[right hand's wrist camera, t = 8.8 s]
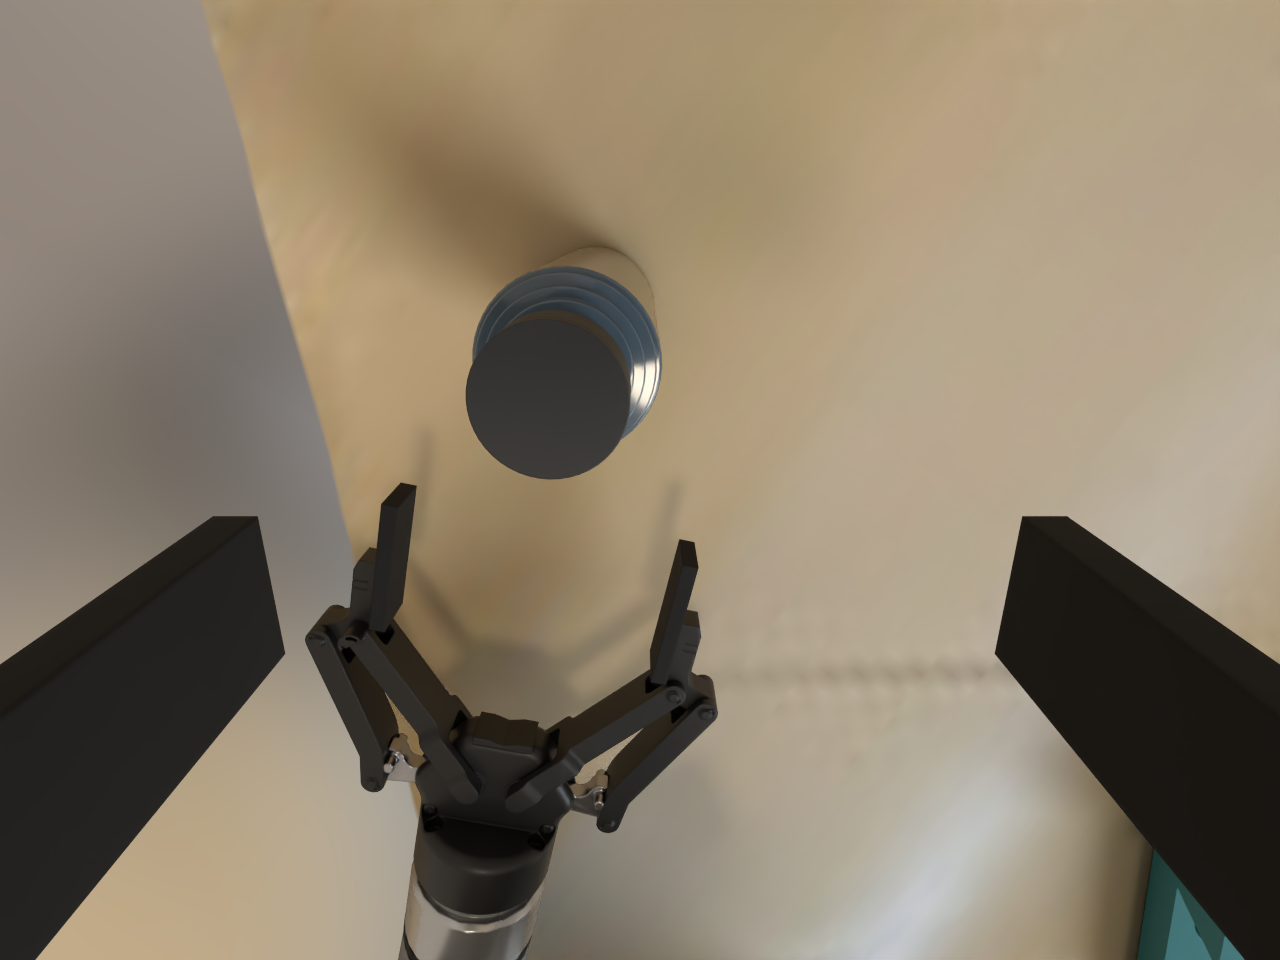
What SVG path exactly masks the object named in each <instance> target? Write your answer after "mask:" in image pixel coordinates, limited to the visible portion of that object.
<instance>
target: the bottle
mask: <svg viewBox="0 0 1280 960" xmlns="http://www.w3.org/2000/svg"><path fill="white" fill-rule="evenodd" d="M543 310H562V311H568V312H573V313H576V314H579V315H582V316H584V317H586V318H588V319H590V320H592V321H594V322H595V323H597V324H598V325H600V326H601V327H602V328H603V329H605V330H606V331H607V332H608V333H609V334H610V335H611V336H612V338H613V339H614V340H615V341H616V342H617V344H618V346H619V347H620V349H621V350H622V352H623V354H624V357H625V359H626V361H627V365H628V368H629V372H630V378H631V398H630V411H629V418H628V422H627V426H626V428H625V431H624V434H623V436H622V438H621V439H623V438H624V437H625V436H627V435H628V434H629V433H630V432H632V431H633V430H634V429H635V428H636V427H637V426H638V425H639V424H640V423H641V421H642V420H643V419H644V417H645V416H646V414H647V413H648V411H649V410H650V408H651V406H652V404H653V402H654V400H655V397H656V395H657V392H658V388H659V384H660V380H661V372H662V354H661V347H660V340H659V333H658V326H657V319H656V312H655V305H654V299H653V293H652V290H651V287H650V284H649V282H648V280H647V278H646V276H645V275H644V273H643V272H642V270H641V269H640V268H639V267H638V266H637V265H636V264H635V263H634V262H633V261H632V260H631V259H629V258H628V257H627V256H625V255H623V254H621V253H619V252H617V251H614V250H612V249H608V248H602V247H587V248H581V249H578V250H575V251H572V252H570V253H568V254H566V255H564V256H562V257H560V258H558V259H556V260H554V261H552V262H550V263H547V264H545V265H543V266H541V267H539V268H537V269H535V270H533V271H531V272H529V273H527V274H525V275H523V276H520V277H518V278H517V279H515V280H514V281H512V282H511V283H509V284H508V285H506V286H505V287H504V288H503V289H502V290H501V291H500V292H499V293H498V294H497V295H496V296H495V297H494V298H493V300H492V301H491V302H490V303H489V305H488V306H487V308H486V310H485V311H484V313H483V315H482V317H481V319H480V321H479V324H478V326H477V330H476V333H475V337H474V343H473V360H472V362H474V360H475V358H476V356H477V355H478V353H479V352H480V350H481V349H482V348H483V347H484V345H485V344H486V343H487V342H488V341H489V340H490V339H491V338H493V337H494V336H495V335H496V334H497V333H499V332H500V331H501V330H502V329H504V328H505V327H506V326H507V325H509V324H510V323H512V322H513V321H515V320H516V319H518V318H520V317H522V316H524V315H527V314H530V313H533V312H538V311H543Z"/></svg>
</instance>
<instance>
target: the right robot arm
mask: <svg viewBox="0 0 1280 960" xmlns="http://www.w3.org/2000/svg"><path fill="white" fill-rule="evenodd" d="M284 655H285V650H284V645H283V640H282V636H281V630H280V625H279V620H278V615H277V610H276V605H275V600H274V595H273V590H272V585H271V580H270V576H269V570H268V565H267V560H266V555H265V550H264V546H263V541H262V536H261V531H260V526H259V521H258V517H257V516H213V517H211V518H210V519H209V520H207V521H206V522H204V523H203V524H201V525H200V526H199V527H197V528H196V529H194V530H193V531H191V532H190V533H189V534H187V535H186V536H184V537H183V538H181V539H180V540H178V541H177V542H176V543H174V544H173V545H171V546H170V547H168V548H167V549H165V550H164V551H163V552H161V553H160V554H158V555H157V556H155V557H154V558H153V559H151V560H150V561H148V562H147V563H145V564H144V565H143V566H141V567H140V568H138V569H137V570H135V571H134V572H132V573H131V574H130V575H128V576H127V577H125V578H124V579H122V580H121V581H120V582H118V583H117V584H115V585H114V586H112V587H111V588H109V589H108V590H107V591H105V592H104V593H102V594H101V595H99V596H98V597H96V598H95V599H94V600H92V601H91V602H89V603H88V604H86V605H85V606H84V607H82V608H81V609H79V610H78V611H76V612H75V613H73V614H72V615H71V616H69V617H68V618H66V619H65V620H64V621H62V622H61V623H59V624H58V625H56V626H55V627H53V628H52V629H51V630H49V631H48V632H46V633H45V634H43V635H42V636H40V637H39V638H38V639H36V640H35V641H33V642H32V643H30V644H29V645H28V646H26V647H25V648H23V649H22V650H20V651H19V652H18V653H16V654H15V655H13V656H12V657H10V658H9V659H7V660H6V661H5V662H3V663H2V664H0V960H36V958H37V957H38V956H39V955H40V953H41V952H42V951H43V950H44V948H45V947H46V946H47V945H48V944H49V942H50V941H51V940H52V939H53V937H54V936H55V935H56V934H57V933H58V931H59V930H60V929H61V928H62V926H63V925H64V924H65V923H66V921H67V920H68V919H69V918H70V917H71V915H72V914H73V913H74V912H75V910H76V909H77V908H78V907H79V906H80V904H81V903H82V902H83V901H84V899H85V898H86V897H87V896H88V895H89V893H90V892H91V891H92V890H93V888H94V887H95V886H96V885H97V884H98V882H99V881H100V880H101V879H102V877H103V876H104V875H105V874H106V873H107V871H108V870H109V869H110V868H111V866H112V865H113V864H114V863H115V862H116V860H117V859H118V858H119V857H120V855H121V854H122V853H123V852H124V851H125V849H126V848H127V847H128V846H129V844H130V843H131V842H132V841H133V839H134V838H135V837H136V836H137V835H138V833H139V832H140V831H141V830H142V828H143V827H144V826H145V825H146V824H147V822H148V821H149V820H150V819H151V817H152V816H153V815H154V814H155V813H156V811H157V810H158V809H159V808H160V806H161V805H162V804H163V803H164V801H165V800H166V799H167V798H168V797H169V795H170V794H171V793H172V792H173V790H174V789H175V788H176V787H177V786H178V784H179V783H180V782H181V781H182V779H183V778H184V777H185V776H186V775H187V773H188V772H189V771H190V770H191V768H192V767H193V766H194V765H195V764H196V762H197V761H198V760H199V759H200V757H201V756H202V755H203V754H204V752H205V751H206V750H207V749H208V748H209V746H210V745H211V744H212V743H213V741H214V740H215V739H216V738H217V737H218V735H219V734H220V733H221V732H222V730H223V729H224V728H225V727H226V726H227V724H228V723H229V722H230V721H231V719H232V718H233V717H234V716H235V715H236V713H237V712H238V711H239V710H240V708H241V707H242V706H243V705H244V704H245V702H246V701H247V700H248V699H249V697H250V696H251V695H252V694H253V693H254V691H255V690H256V689H257V688H258V686H259V685H260V684H261V683H262V681H263V680H264V679H265V678H266V677H267V675H268V674H269V673H270V672H271V670H272V669H273V668H274V667H275V665H276V664H277V663H278V662H279V661H280V659H281V658H282V657H283V656H284ZM995 655H996V656H997V657H998V658H999V659H1000V661H1001V662H1002V663H1003V664H1004V666H1005V667H1006V668H1007V669H1008V671H1009V672H1010V673H1011V674H1012V675H1013V677H1014V678H1015V679H1016V680H1017V682H1018V683H1019V684H1020V685H1021V686H1022V688H1023V689H1024V690H1025V691H1026V693H1027V694H1028V695H1029V696H1030V697H1031V699H1032V700H1033V701H1034V702H1035V704H1036V705H1037V706H1038V707H1039V708H1040V710H1041V711H1042V712H1043V713H1044V715H1045V716H1046V717H1047V718H1048V719H1049V721H1050V722H1051V723H1052V724H1053V726H1054V727H1055V728H1056V729H1057V731H1058V732H1059V733H1060V734H1061V735H1062V737H1063V738H1064V739H1065V740H1066V742H1067V743H1068V744H1069V745H1070V746H1071V748H1072V749H1073V750H1074V751H1075V753H1076V754H1077V755H1078V756H1079V757H1080V759H1081V760H1082V761H1083V762H1084V764H1085V765H1086V766H1087V767H1088V768H1089V770H1090V771H1091V772H1092V773H1093V775H1094V776H1095V777H1096V778H1097V779H1098V781H1099V782H1100V783H1101V784H1102V786H1103V787H1104V788H1105V789H1106V791H1107V792H1108V793H1109V794H1110V795H1111V797H1112V798H1113V799H1114V800H1115V802H1116V803H1117V804H1118V805H1119V806H1120V808H1121V809H1122V810H1123V811H1124V813H1125V814H1126V815H1127V816H1128V817H1129V819H1130V820H1131V821H1132V822H1133V824H1134V825H1135V826H1136V827H1137V828H1138V830H1139V831H1140V832H1141V833H1142V835H1143V836H1144V837H1145V838H1146V839H1147V841H1148V842H1149V843H1150V844H1151V846H1152V847H1153V848H1154V849H1155V851H1156V852H1157V853H1158V854H1159V855H1160V857H1161V858H1162V859H1163V860H1164V862H1165V863H1166V864H1167V865H1168V866H1169V868H1170V869H1171V870H1172V871H1173V873H1174V874H1175V875H1176V876H1177V877H1178V879H1179V880H1180V881H1181V882H1182V884H1183V885H1184V886H1185V887H1186V888H1187V890H1188V891H1189V892H1190V893H1191V895H1192V896H1193V897H1194V898H1195V900H1196V901H1197V902H1198V903H1199V904H1200V906H1201V907H1202V908H1203V909H1204V911H1205V912H1206V913H1207V914H1208V915H1209V917H1210V918H1211V919H1212V920H1213V922H1214V923H1215V924H1216V925H1217V926H1218V928H1219V929H1220V930H1221V931H1222V933H1223V934H1224V935H1225V936H1226V937H1227V939H1228V940H1229V941H1230V942H1231V944H1232V945H1233V946H1234V947H1235V948H1236V950H1237V951H1238V952H1239V953H1240V955H1241V956H1242V957H1243V958H1244V960H1280V664H1278V663H1277V662H1275V661H1274V660H1273V659H1271V658H1270V657H1268V656H1267V655H1265V654H1264V653H1263V652H1261V651H1260V650H1258V649H1257V648H1255V647H1254V646H1252V645H1251V644H1250V643H1248V642H1247V641H1245V640H1244V639H1242V638H1241V637H1240V636H1238V635H1237V634H1235V633H1234V632H1232V631H1231V630H1229V629H1228V628H1227V627H1225V626H1224V625H1222V624H1221V623H1219V622H1218V621H1217V620H1215V619H1214V618H1212V617H1211V616H1209V615H1208V614H1207V613H1205V612H1204V611H1202V610H1201V609H1199V608H1198V607H1196V606H1195V605H1194V604H1192V603H1191V602H1189V601H1188V600H1186V599H1185V598H1184V597H1182V596H1181V595H1179V594H1178V593H1176V592H1175V591H1173V590H1172V589H1171V588H1169V587H1168V586H1166V585H1165V584H1163V583H1162V582H1161V581H1159V580H1158V579H1156V578H1155V577H1153V576H1152V575H1150V574H1149V573H1148V572H1146V571H1145V570H1143V569H1142V568H1140V567H1139V566H1138V565H1136V564H1135V563H1133V562H1132V561H1130V560H1129V559H1127V558H1126V557H1125V556H1123V555H1122V554H1120V553H1119V552H1117V551H1116V550H1115V549H1113V548H1112V547H1110V546H1109V545H1107V544H1106V543H1104V542H1103V541H1102V540H1100V539H1099V538H1097V537H1096V536H1094V535H1093V534H1092V533H1090V532H1089V531H1087V530H1086V529H1084V528H1083V527H1081V526H1080V525H1079V524H1077V523H1076V522H1074V521H1073V520H1071V519H1070V518H1069V517H1067V516H1022V521H1021V526H1020V531H1019V536H1018V541H1017V545H1016V550H1015V555H1014V560H1013V565H1012V570H1011V575H1010V580H1009V585H1008V590H1007V595H1006V600H1005V605H1004V610H1003V615H1002V620H1001V625H1000V630H999V635H998V640H997V645H996V650H995Z"/></svg>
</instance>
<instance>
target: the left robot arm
mask: <svg viewBox="0 0 1280 960" xmlns="http://www.w3.org/2000/svg"><path fill="white" fill-rule="evenodd" d="M416 487H417V486H415V485H410V484H405V483H400V484H399V485H398V486H397V487H396V489H395V490H394V491H393V492H392V493H391V494H390V495H389V496H388V497H387V498H386V500H385V501H384V502H383V503H382V504H381V513H380V522H379V532H378V542H377V549H376V548H371V547H369V549H368V550H367V551H366V552H365V553H364V555H363V556H362V557H361V558H360V560H359V561H358V563H357V564H356V566H355V567H354V570H353V581H352V592H351V603H350V608H344V607H343V606H340V605H332V606H330V607H329V608H328V609H327V610H326V612H325V613H324V614H323V615H322V616H321V618H320V619H319V620H318V621H317V623H316V624H315V625H314V626H313V628H312V629H311V630H310V632H309V633H308V634H307V635H306V638H305V642H306V645H307V647H308V649H309V651H310V653H311V655H312V657H313V659H314V662H315V664H316V666H317V668H318V670H319V672H320V674H321V676H322V678H323V680H324V682H325V685H326V687H327V689H328V691H329V693H330V695H331V697H332V699H333V701H334V703H335V705H336V708H337V710H338V712H339V714H340V716H341V718H342V720H343V722H344V724H345V726H346V728H347V730H348V733H349V735H350V737H351V739H352V741H353V743H354V745H355V747H356V749H357V751H358V753H359V756H360V773H361V784H362V786H363V788H364V789H366V790H367V791H370V792H378V791H380V790H382V788H383V787H384V785H385V783H386V781H387V780H393V781H405V782H415V783H416V786H417V788H418V790H419V792H420V795H421V809H420V815H419V822H418V829H417V836H416V843H415V850H414V861H413V864H412V869H411V876H410V884H409V892H408V899H407V906H406V913H405V921H404V932H403V937H402V942H401V948H400V953H399V958H398V960H526V957H527V952H528V947H529V943H530V940H531V936H532V933H533V931H534V927H535V923H536V919H537V914H538V910H539V906H540V901H541V897H542V892H543V888H544V884H545V876H546V873H547V871H548V867H549V862H550V858H551V854H552V850H553V845H554V841H555V837H556V833H557V829H558V824H559V822H560V820H561V819H562V817H563V816H564V815H565V814H567V813H568V812H569V811H570V810H573V811H577V812H581V813H584V814H588V815H592V816H596V817H597V827H598V829H599V830H600V831H602V832H604V833H611V832H614V831H616V830H617V829H618V827H619V825H620V823H621V820H622V818H623V816H624V813H625V811H626V809H627V806H628V804H629V803H630V802H631V801H632V800H633V799H634V798H635V797H636V796H637V795H638V794H639V793H640V792H641V791H642V790H643V789H645V788H646V787H647V786H648V785H649V784H650V783H651V782H652V781H653V780H654V779H655V778H656V777H657V776H658V775H659V774H660V773H661V772H662V771H663V770H664V769H665V768H666V767H667V766H668V765H669V764H670V763H671V762H672V761H673V760H674V759H675V758H676V757H677V756H679V755H680V754H681V753H682V752H683V751H684V750H685V749H686V748H687V747H688V746H689V745H690V744H691V743H692V742H693V741H694V740H695V739H696V738H697V737H698V736H699V735H700V734H701V733H702V732H703V731H704V730H705V729H706V728H707V727H708V726H709V725H710V724H712V723H713V722H714V721H715V719H716V718H717V715H718V711H717V704H716V698H715V691H714V685H713V681H712V679H711V678H710V677H709V676H707V675H698V676H697V675H696V674H694V673H692V672H691V670H692V666H693V663H694V660H695V656H696V653H697V649H698V646H699V642H700V639H701V632H700V625H699V618H698V612H695V611H690V610H687V607H688V603H689V600H690V596H691V593H692V589H693V585H694V582H695V578H696V575H697V571H698V562H697V556H696V550H695V543H694V542H690V541H686V540H681V539H679V543H678V547H677V550H676V554H675V558H674V562H673V565H672V569H671V573H670V577H669V581H668V584H667V588H666V592H665V596H664V600H663V603H662V607H661V611H660V615H659V618H658V622H657V626H656V630H655V634H654V637H653V641H652V645H651V649H650V670H648V671H646V672H645V673H643V674H642V675H640V676H639V677H637V678H635V679H634V680H632V681H631V682H629V683H628V684H626V685H625V686H623V687H621V688H620V689H618V690H617V691H615V692H614V693H612V694H610V695H609V696H607V697H606V698H604V699H603V700H601V701H600V702H598V703H596V704H595V705H593V706H592V707H590V708H589V709H587V710H585V711H584V712H582V713H581V714H579V715H578V716H576V717H574V718H572V717H570V716H568V717H566V718H564V719H563V720H561V721H560V722H558V723H557V724H555V725H553V726H552V727H550V728H549V729H547V730H546V731H545V730H544V729H542V728H540V727H538V723H539V722H536V721H530V720H508V719H506V718H504V717H501V716H499V715H496V714H492V713H486V712H481V715H480V716H475V717H473V716H472V715H471V714H470V712H469V711H468V710H467V708H466V707H465V706H464V704H463V703H462V702H461V700H460V699H459V698H458V697H457V696H456V695H453V696H451V695H450V694H449V693H448V692H447V690H446V689H445V688H444V686H443V685H442V684H441V682H440V681H439V679H438V678H437V677H436V675H435V674H434V673H433V671H432V670H431V669H430V667H429V666H428V665H427V663H426V662H425V661H424V659H423V658H422V657H421V655H420V654H419V652H418V651H417V650H416V648H415V647H414V646H413V644H412V643H411V642H410V640H409V639H408V638H407V636H406V635H405V634H404V632H403V631H402V630H401V628H400V627H399V625H398V624H397V623H396V621H395V620H394V619H393V618H394V616H395V614H396V613H397V611H398V610H399V608H400V606H401V605H402V603H403V595H404V587H405V578H406V570H407V562H408V554H409V545H410V537H411V529H412V520H413V512H414V504H415V496H416ZM384 691H385V692H384ZM385 693H386V694H387V695H388V697H389V698H390V699H391V700H392V702H393V703H394V704H395V706H396V707H397V708H398V709H399V711H400V712H401V713H402V715H403V716H404V717H405V718H406V720H407V721H408V722H409V724H410V725H411V726H412V727H413V729H414V730H415V731H416V733H417V734H418V737H419V745H420V748H421V749H422V751H423V752H424V754H423V756H420V755H417V754H414V753H413V752H412V751H411V750H410V747H409V744H408V743H407V739H408V737H407V735H405V734H403V733H400V734H399V731H398V724H397V720H396V717H395V715H394V712H393V710H392V708H391V705H390V703H389V701H388V699H387V696H386V694H385ZM642 728H643V729H642ZM641 729H642V730H641ZM639 730H641V731H640V732H639V733H638V734H637V735H636V736H635V737H634V738H633V739H632V740H631V741H630V742H629V743H628V744H627V745H626V746H625V747H624V748H623V749H622V750H621V751H620V752H619V753H618V754H617V756H616V757H615V758H614V759H613V760H612V762H611V763H610V765H609V767H608V769H607V771H605V770H603V769H600V770H598V771H597V772H596V775H595V776H594V777H592V778H591V780H590V781H589V782H587V783H585V784H576V781H575V776H576V775H577V774H578V773H579V772H580V770H581V769H582V767H583V766H584V765H585V764H586V763H587V762H589V761H591V760H592V759H594V758H595V757H597V756H599V755H600V754H602V753H604V752H605V751H607V750H608V749H610V748H612V747H613V746H615V745H616V744H618V743H620V742H621V741H623V740H625V739H626V738H628V737H629V736H631V735H633V734H634V733H636V732H637V731H639Z"/></svg>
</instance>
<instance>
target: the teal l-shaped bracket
mask: <svg viewBox="0 0 1280 960" xmlns="http://www.w3.org/2000/svg"><path fill="white" fill-rule="evenodd" d="M1137 960H1244V958H1243V957H1242V956H1241V955H1240V953H1239V952H1238V951H1237V950H1236V948H1235V947H1234V946H1233V945H1232V944H1231V942H1230V941H1229V940H1228V939H1227V937H1226V936H1225V935H1224V934H1223V933H1222V931H1221V930H1220V929H1219V928H1218V926H1217V925H1216V924H1215V923H1214V922H1213V920H1212V919H1211V918H1210V917H1209V915H1208V914H1207V913H1206V912H1205V911H1204V909H1203V908H1202V907H1201V906H1200V904H1199V903H1198V902H1197V901H1196V900H1195V898H1194V897H1193V896H1192V895H1191V893H1190V892H1189V891H1188V890H1187V888H1186V887H1185V886H1184V885H1183V884H1182V882H1181V881H1180V880H1179V879H1178V877H1177V876H1176V875H1175V874H1174V873H1173V871H1172V870H1171V869H1170V868H1169V866H1168V865H1167V864H1166V863H1165V862H1164V860H1163V859H1162V858H1161V857H1160V855H1159V854H1158V853H1157V852H1156V851H1155V849H1154V852H1153V858H1152V865H1151V871H1150V878H1149V884H1148V891H1147V897H1146V904H1145V910H1144V917H1143V923H1142V930H1141V936H1140V943H1139V949H1138V956H1137Z"/></svg>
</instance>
